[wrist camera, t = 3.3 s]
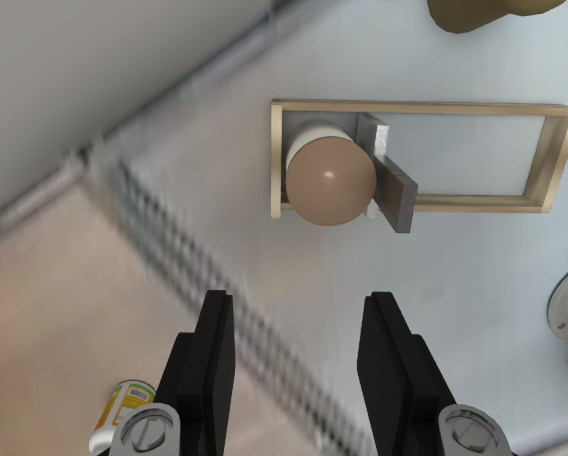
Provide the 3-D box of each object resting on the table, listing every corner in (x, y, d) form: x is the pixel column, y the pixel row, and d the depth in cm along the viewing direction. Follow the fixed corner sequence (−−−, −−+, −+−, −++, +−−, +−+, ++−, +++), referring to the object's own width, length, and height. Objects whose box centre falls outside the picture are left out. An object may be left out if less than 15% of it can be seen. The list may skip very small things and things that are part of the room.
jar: (347, 184, 36) (370, 226, 27) (283, 183, 36) (284, 225, 27) (353, 118, 34) (381, 139, 25) (284, 116, 34) (286, 138, 24)
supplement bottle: (123, 413, 48) (88, 492, 40) (107, 382, 46) (67, 459, 37) (163, 407, 48) (137, 486, 39) (149, 376, 46) (118, 452, 37)
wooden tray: (529, 201, 37) (564, 221, 33) (271, 198, 37) (270, 218, 32) (558, 104, 33) (603, 111, 29) (272, 98, 33) (271, 105, 28)
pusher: (359, 190, 36) (404, 264, 23) (350, 190, 36) (391, 264, 23) (367, 112, 33) (424, 147, 20) (358, 112, 33) (409, 147, 20)
